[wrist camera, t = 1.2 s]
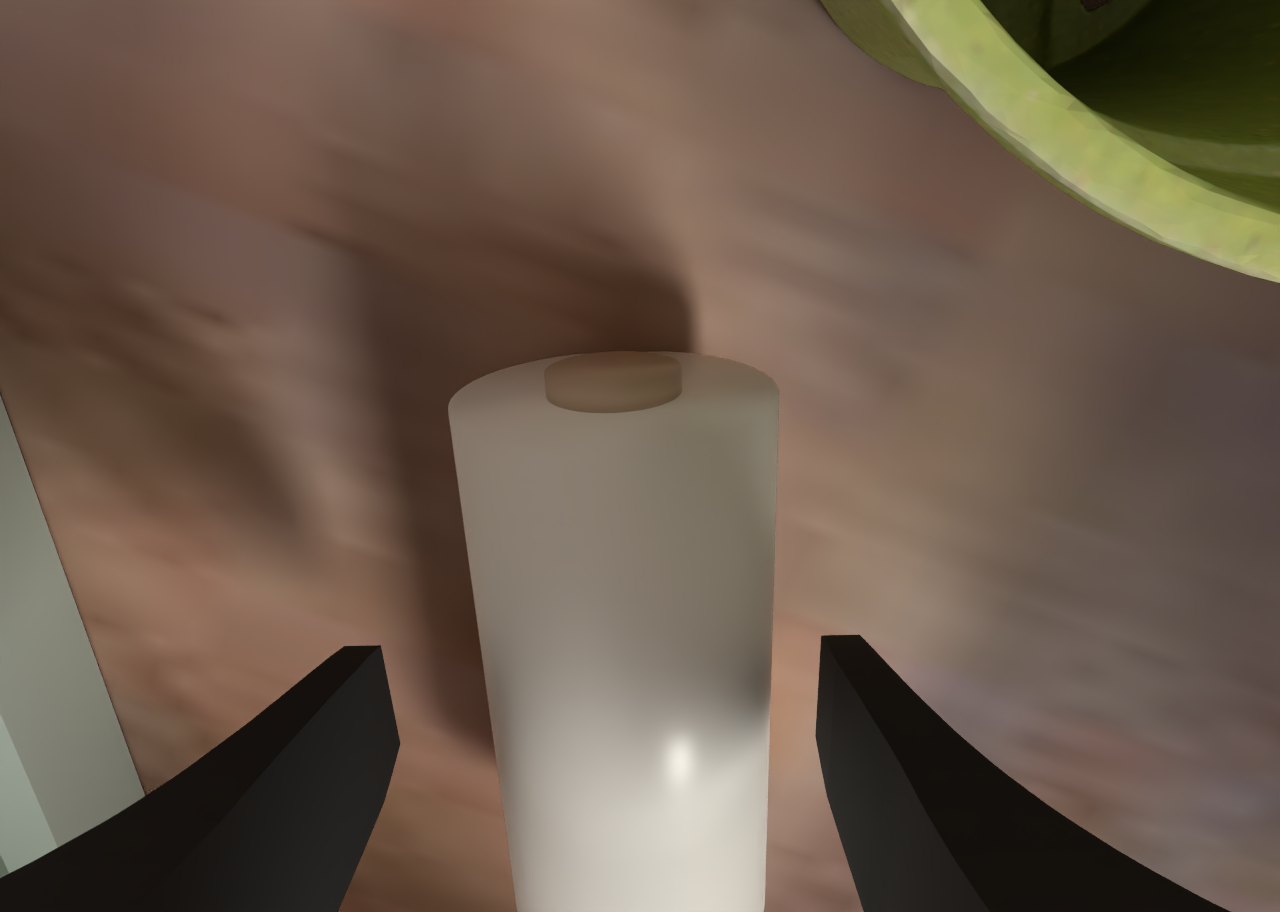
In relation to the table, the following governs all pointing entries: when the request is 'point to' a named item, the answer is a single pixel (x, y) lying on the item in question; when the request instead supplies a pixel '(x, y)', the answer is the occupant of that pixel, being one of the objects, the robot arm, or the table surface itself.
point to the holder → (48, 690)
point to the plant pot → (1114, 104)
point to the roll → (626, 622)
